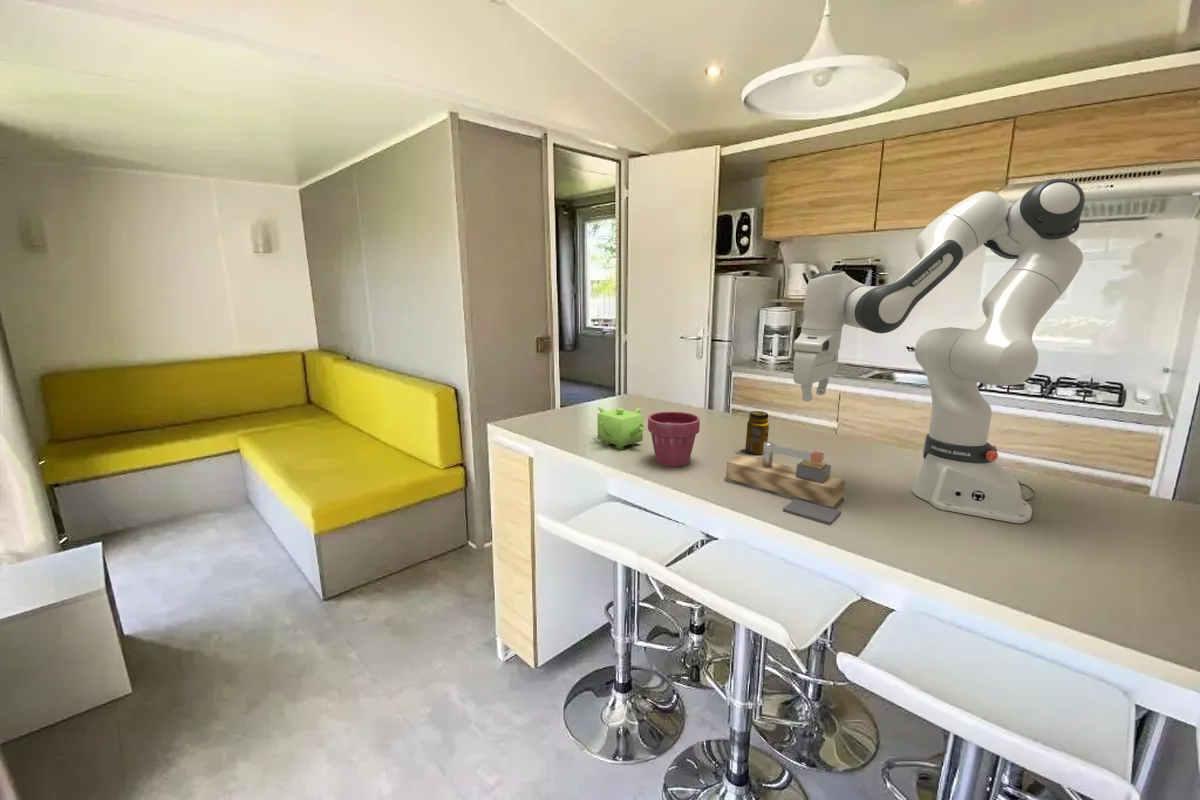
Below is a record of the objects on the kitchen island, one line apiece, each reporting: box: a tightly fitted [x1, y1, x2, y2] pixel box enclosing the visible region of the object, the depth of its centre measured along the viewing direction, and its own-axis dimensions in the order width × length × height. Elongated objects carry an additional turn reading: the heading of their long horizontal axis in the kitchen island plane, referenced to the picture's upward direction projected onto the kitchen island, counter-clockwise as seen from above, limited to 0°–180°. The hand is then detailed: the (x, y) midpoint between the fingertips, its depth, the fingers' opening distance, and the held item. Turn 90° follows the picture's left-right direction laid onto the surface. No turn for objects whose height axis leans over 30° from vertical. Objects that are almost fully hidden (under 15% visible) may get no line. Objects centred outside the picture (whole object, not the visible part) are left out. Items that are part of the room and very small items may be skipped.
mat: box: [782, 499, 842, 526], centre depth 113 cm, size 10×7×1 cm
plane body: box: [724, 454, 845, 510], centre depth 125 cm, size 26×7×5 cm, turn 49°
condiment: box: [735, 410, 770, 459], centre depth 151 cm, size 7×8×12 cm
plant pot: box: [647, 411, 701, 467], centre depth 143 cm, size 14×14×13 cm
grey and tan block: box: [796, 459, 832, 484], centre depth 119 cm, size 6×5×4 cm
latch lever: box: [761, 441, 825, 468], centre depth 123 cm, size 14×2×6 cm, turn 49°
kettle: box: [596, 406, 645, 450], centre depth 159 cm, size 15×14×11 cm
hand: (813, 397), depth 126 cm, fingers open, 8 cm apart
